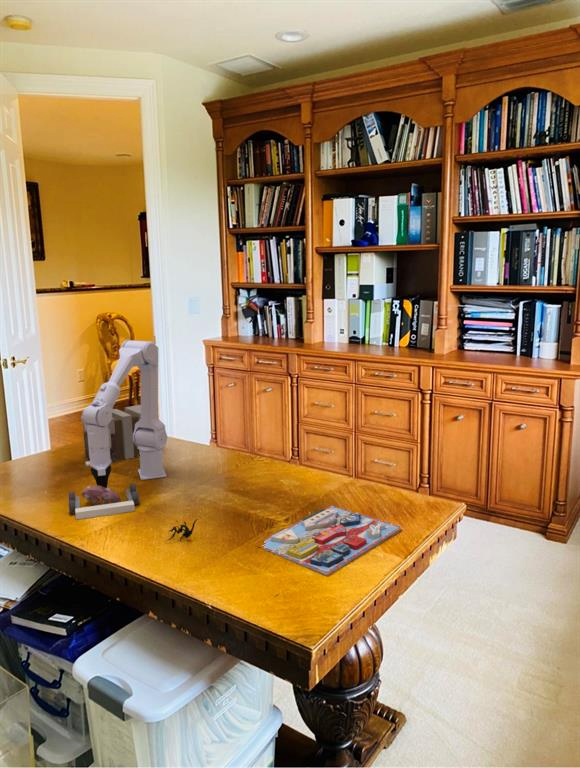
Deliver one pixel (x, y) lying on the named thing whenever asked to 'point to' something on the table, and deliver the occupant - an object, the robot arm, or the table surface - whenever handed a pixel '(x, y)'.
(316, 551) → the puzzle board
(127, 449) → the bookend
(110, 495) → the pink toy figurine
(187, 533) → the creature
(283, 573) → the table surface
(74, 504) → the chassis
